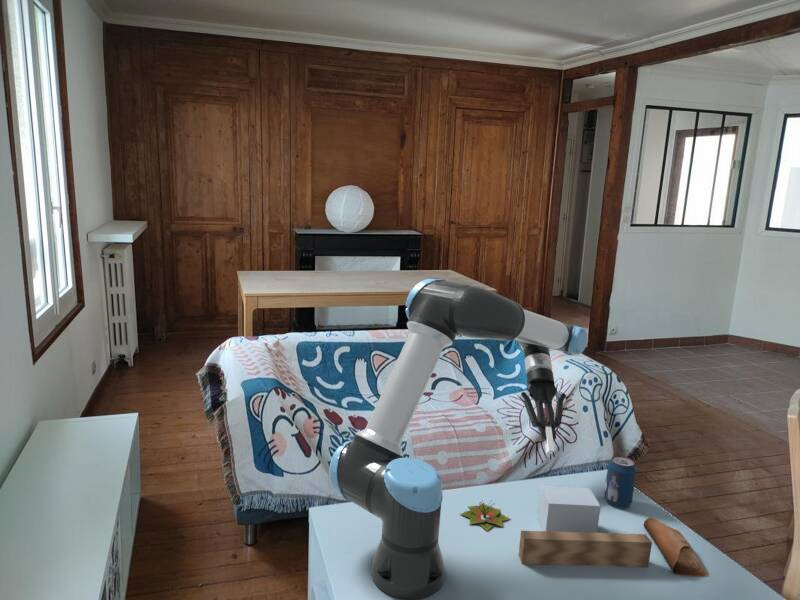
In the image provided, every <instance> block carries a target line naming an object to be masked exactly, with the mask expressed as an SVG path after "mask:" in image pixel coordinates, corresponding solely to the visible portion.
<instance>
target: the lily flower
mask: <svg viewBox="0 0 800 600" xmlns="http://www.w3.org/2000/svg"><path fill="white" fill-rule="evenodd" d="M491 502H493V499H492V500H490V502H489V503H488V504H486V503H484V501H483V500H481V501H479V503H478V504H479V505H471V506H467V507H468V508H469V510H468V511H463V512H462V513H460V515H461V516H464V517H466V518H469V524H468V526H471V525H473V524H479V526H481V527H482V528H483V529H484V530H485V531H486V532H488V531H489V530H490V529H492V528H493V527H494V525H496V526H499V527H501V528H502V529H504V525H503V522H504V521H508V520H511V518H509V517H508V516H506V515H505V514H501V513H500V512H501V509H500V508H496V507H494V505H495V503H493V504H491ZM490 504H491V505H490ZM482 516H483V518H484V519H482ZM487 516H488V519H485V518H487ZM486 522H487V523H486Z"/></svg>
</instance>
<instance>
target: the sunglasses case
mask: <svg viewBox="0 0 800 600" xmlns="http://www.w3.org/2000/svg"><path fill="white" fill-rule="evenodd" d="M643 527H644V529H645V530H646V532H647V534H648V535H649V536H650V539H652V540H653V543H654V544H655V546H656V547H657V548H658V550H659V552H660V554H661V555H662V557H663V559H664V560H665V561H666V563H667V565H668V567H669V569H670V570H671V571H672V573H673V574H674V575H675V576H684V577H685V576H688V577H704V578H705V577H706V578H709V577H710V576H709V574H708V571H707V570H706V568H705V566H704V565H703V563H702V562H701V560H700V559H699V557H698V555H696V553H695V551H694V550H693V549H692V547H691V544H690V543H689V542H688V540H687V539H686V538H685V537H684V536H683V534H682V533H681V532H680V531H679V530H678V529H675V528H673V527H671V526H669V525H666V523H664V522H662V521H660V520H658V519H656V518H655V517H650V516H649V517H648V518H646V519H645V520H644V522H643Z"/></svg>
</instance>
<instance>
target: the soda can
mask: <svg viewBox="0 0 800 600" xmlns="http://www.w3.org/2000/svg"><path fill="white" fill-rule="evenodd" d="M610 458H611V459H610V461H609V462H608V463H607V468H606V469H607V471H606V478H605V485H604V493H603V496H604V499H605V502H606V503H607V504H608V505H610V506H611V507H614V508H616V509H627V508H628V507H629V506H630V505H631V504H632V503H633V498H634V497H633V495H634V490H635V483H636V475H637V466H636V465H635V464H636V463H635V461H634V460H633V459H632V458H630V457H627V456H623V455H614V456H612V457H610Z"/></svg>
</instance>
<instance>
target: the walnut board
mask: <svg viewBox="0 0 800 600" xmlns="http://www.w3.org/2000/svg"><path fill="white" fill-rule="evenodd" d="M652 546H653V542H652V540H651V538H649V536H647V534H644V533H611V532H597V533H585V532H552V531H542V530H521V531H520V536H519V546H518V557H519V560H520V564H522V565H523V564H525V565H554V566H555V565H557V566H558V565H559V566H560V565H561V566H592V567H594V566H595V567H597V566H598V567H624V568H625V567H631V568H633V567H634V568H649V564H650V559H651V551H652Z"/></svg>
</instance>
